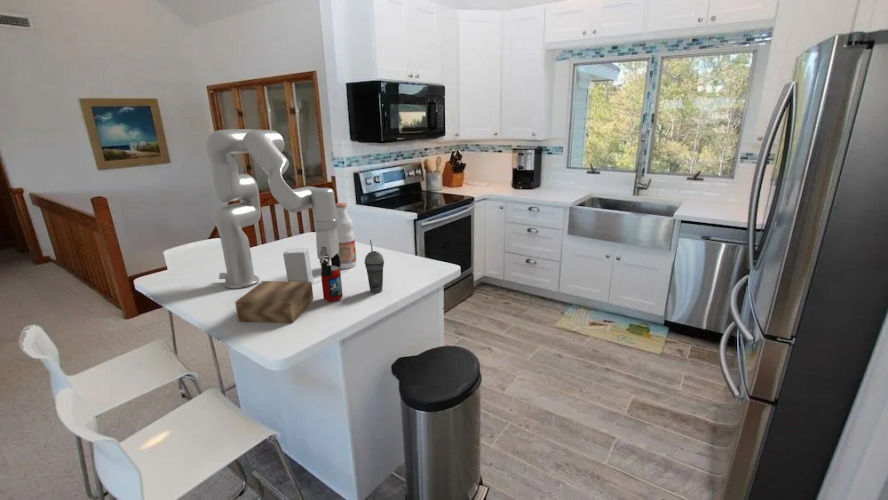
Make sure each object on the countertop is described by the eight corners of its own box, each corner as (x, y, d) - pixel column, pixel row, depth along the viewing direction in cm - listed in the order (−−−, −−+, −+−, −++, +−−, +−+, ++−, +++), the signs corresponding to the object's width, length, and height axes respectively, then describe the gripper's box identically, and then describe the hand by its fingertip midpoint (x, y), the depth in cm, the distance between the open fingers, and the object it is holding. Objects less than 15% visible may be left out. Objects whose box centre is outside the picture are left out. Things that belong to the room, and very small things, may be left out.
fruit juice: (331, 265, 184) (325, 204, 176) (349, 261, 190) (344, 201, 182) (342, 270, 177) (336, 207, 169) (360, 265, 184) (356, 203, 175)
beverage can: (337, 303, 145) (334, 271, 142) (320, 302, 147) (316, 270, 143) (346, 295, 152) (343, 265, 148) (329, 294, 153) (325, 264, 149)
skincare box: (313, 282, 165) (309, 247, 160) (309, 288, 159) (305, 251, 154) (292, 283, 164) (287, 247, 160) (287, 289, 159) (282, 252, 154)
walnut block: (238, 321, 133) (235, 301, 131) (265, 299, 150) (262, 281, 148) (292, 322, 131) (290, 302, 129) (313, 299, 149) (311, 281, 146)
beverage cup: (377, 296, 151) (373, 243, 145) (362, 292, 155) (358, 241, 149) (389, 289, 157) (387, 239, 151) (375, 285, 161) (372, 236, 155)
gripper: (324, 219, 149) (329, 263, 154) (305, 230, 133) (312, 280, 138) (344, 218, 149) (349, 263, 154) (328, 230, 132) (334, 280, 137)
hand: (331, 271), depth 146 cm, fingers open, 9 cm apart
